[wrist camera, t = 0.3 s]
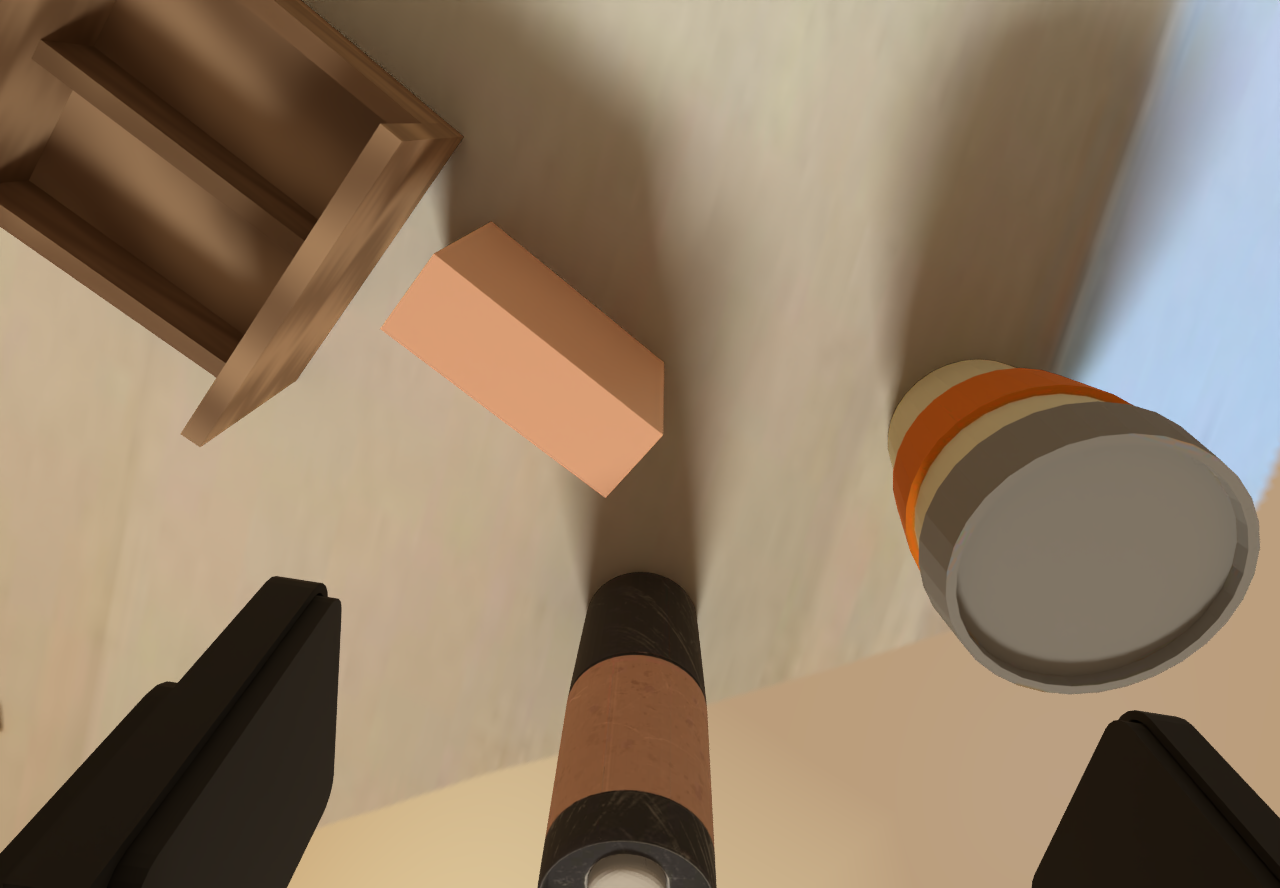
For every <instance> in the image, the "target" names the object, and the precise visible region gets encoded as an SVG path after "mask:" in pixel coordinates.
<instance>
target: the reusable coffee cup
mask: <svg viewBox="0 0 1280 888" xmlns="http://www.w3.org/2000/svg"><path fill="white" fill-rule="evenodd" d="M888 451H889V455H890V460H891V463H892V467H893V491H894V496H895V500H896V505H897V509H898V512H899V515H900V519H901V522H902V525H903V529H904V532H905V535H906V539H907V542H908V545H909V549H910V551H911V553H912V556H913V558H914V560H915V562H916V564H917V566H918V568H919V570H920V572H921V577H922V582H923V586H924V588H925V591H926V593H927V595H928V597H929V599H930V601H931V603H932V605H933V607H934V608H935V610H936V611H937V612H938V613H939V615H940V616H941V617H942V619H943V620H944V621H945V622H946V624H947V625H948V626H949V627H950V629H951V630H952V631H953V633H954V634H955V635H956V636H957V638H958V639H959V640H960V641H961V643H962V644H963V645H964V646H965V648H966V649H967V650H968V651H969V652H970V654H971V655H972V656H973V657H974V658H975V660H977V661H978V662H979V663H981V664H982V665H983V666H985V667H986V668H987V669H989V670H990V671H991V672H993V673H994V674H995V675H997V676H999V677H1001V678H1004V679H1006V680H1008V681H1010V682H1012V683H1014V684H1016V685H1019V686H1023V687H1026V688H1030V689H1034V690H1038V691H1042V692H1051V693H1062V694H1081V693H1097V692H1103V691H1107V690H1112V689H1117V688H1121V687H1126V686H1129V685H1132V684H1135V683H1137V682H1140V681H1143V680H1146V679H1148V678H1151V677H1154V676H1156V675H1158V674H1160V673H1162V672H1164V671H1165V670H1167V669H1169V668H1171V667H1173V666H1175V665H1176V664H1178V663H1180V662H1182V661H1183V660H1185V659H1186V658H1187V657H1189V656H1190V655H1191V654H1193V653H1194V652H1196V651H1197V650H1198V649H1199V648H1201V647H1202V646H1203V645H1205V644H1206V643H1207V642H1208V641H1209V640H1210V639H1211V638H1212V637H1213V636H1214V635H1215V634H1216V633H1217V632H1218V631H1219V630H1220V629H1221V628H1222V627H1223V626H1224V625H1225V624H1226V623H1227V622H1228V620H1229V619H1230V617H1231V616H1232V614H1233V613H1234V611H1235V610H1236V609H1237V607H1238V606H1239V604H1240V603H1241V601H1242V600H1243V598H1244V596H1245V594H1246V591H1247V589H1248V587H1249V585H1250V583H1251V580H1252V578H1253V576H1254V573H1255V568H1256V564H1257V559H1258V554H1259V549H1260V542H1259V540H1260V539H1259V521H1258V518H1257V514H1256V511H1255V507H1254V504H1253V501H1252V498H1251V496H1250V495H1249V493H1248V491H1247V490H1246V488H1245V487H1244V485H1243V483H1242V482H1241V480H1240V479H1239V477H1238V476H1237V475H1236V474H1235V473H1234V472H1233V471H1232V470H1231V469H1230V468H1228V467H1227V466H1226V465H1225V464H1224V463H1223V462H1222V461H1221V460H1220V459H1219V458H1218V457H1216V456H1215V455H1214V454H1213V453H1212V452H1211V451H1209V450H1208V449H1207V448H1206V447H1205V446H1203V445H1202V444H1201V443H1200V442H1199V441H1197V440H1196V439H1195V438H1194V437H1193V436H1192V435H1190V434H1189V433H1188V432H1187V431H1186V430H1184V429H1183V428H1182V427H1181V426H1179V425H1178V424H1176V423H1174V422H1172V421H1170V420H1169V419H1167V418H1165V417H1163V416H1161V415H1160V414H1158V413H1156V412H1153V411H1149V410H1146V409H1143V408H1139V407H1136V406H1133V405H1132V404H1130V403H1128V402H1126V401H1124V400H1123V399H1121V398H1119V397H1117V396H1115V395H1114V394H1111V393H1108V392H1105V391H1102V390H1100V389H1097V388H1094V387H1091V386H1088V385H1086V384H1083V383H1080V382H1077V381H1074V380H1072V379H1069V378H1066V377H1063V376H1060V375H1057V374H1053V373H1050V372H1047V371H1043V370H1037V369H1026V368H1015V367H1012V366H1010V365H1007V364H1003V363H1000V362H996V361H991V360H980V359H976V360H966V361H960V362H956V363H952V364H949V365H946V366H944V367H941V368H939V369H937V370H935V371H933V372H931V373H930V374H928V375H927V376H925V377H924V378H923V379H921V380H920V381H918V382H917V383H916V384H915V385H914V386H913V387H912V388H911V389H910V390H909V391H908V392H907V393H906V394H905V396H904V397H903V399H902V400H901V402H900V403H899V405H898V406H897V408H896V410H895V413H894V415H893V417H892V419H891V423H890V428H889V432H888Z"/></svg>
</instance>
